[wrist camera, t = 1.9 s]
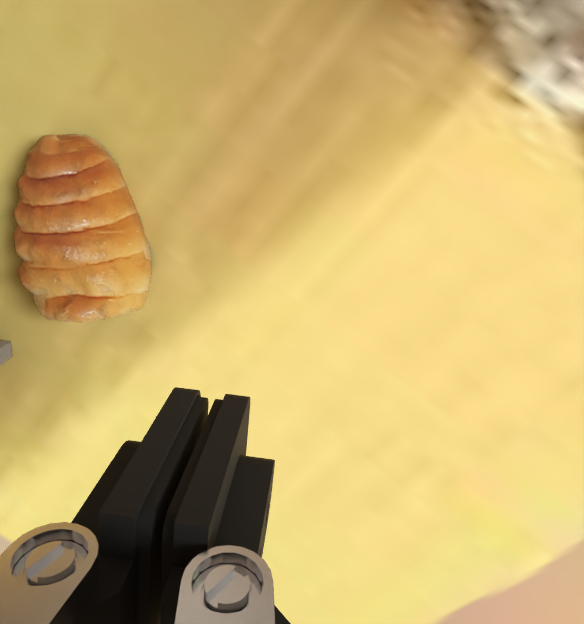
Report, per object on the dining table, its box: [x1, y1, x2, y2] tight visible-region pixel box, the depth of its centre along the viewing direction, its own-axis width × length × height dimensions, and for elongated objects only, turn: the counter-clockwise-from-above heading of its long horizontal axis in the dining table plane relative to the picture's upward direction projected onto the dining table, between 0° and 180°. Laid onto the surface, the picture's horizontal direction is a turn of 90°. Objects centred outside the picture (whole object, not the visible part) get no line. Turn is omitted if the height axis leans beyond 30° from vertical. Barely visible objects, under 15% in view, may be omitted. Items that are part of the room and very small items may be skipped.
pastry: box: [14, 134, 152, 322], centre depth 26 cm, size 9×7×4 cm
